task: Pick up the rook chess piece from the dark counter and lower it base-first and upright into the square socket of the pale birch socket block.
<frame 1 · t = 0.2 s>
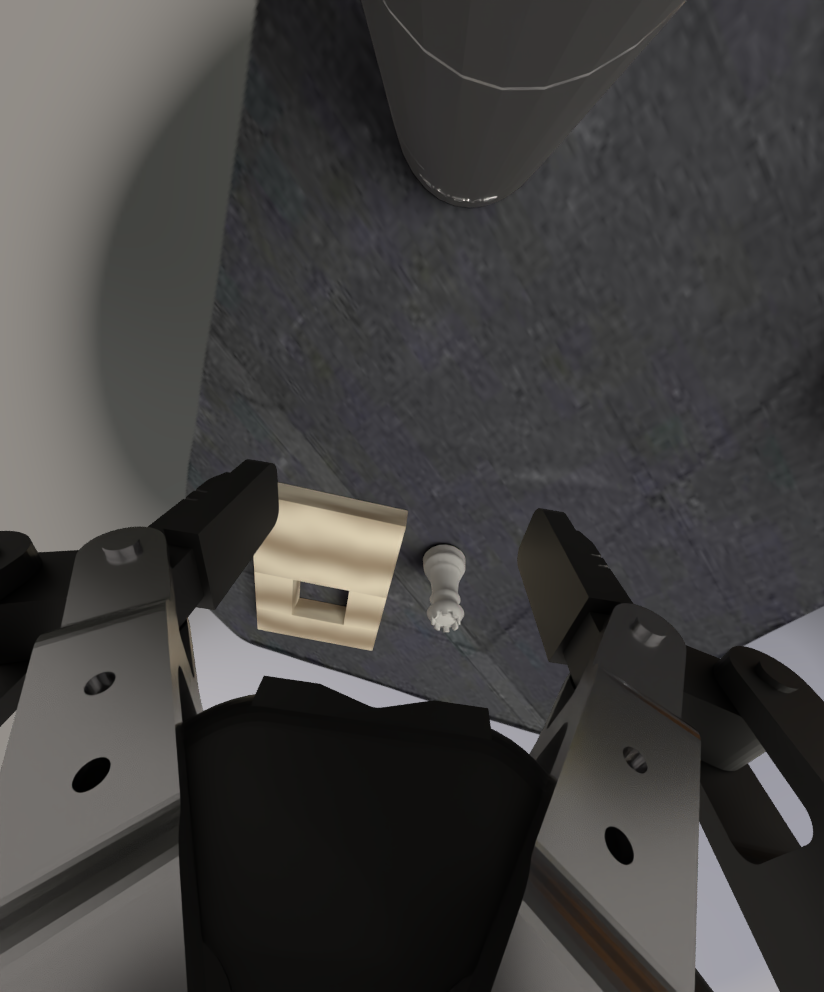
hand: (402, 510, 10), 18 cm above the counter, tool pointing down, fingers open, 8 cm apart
rook chess piece: (443, 556, 35), on the counter
socket block: (327, 568, 37), on the counter
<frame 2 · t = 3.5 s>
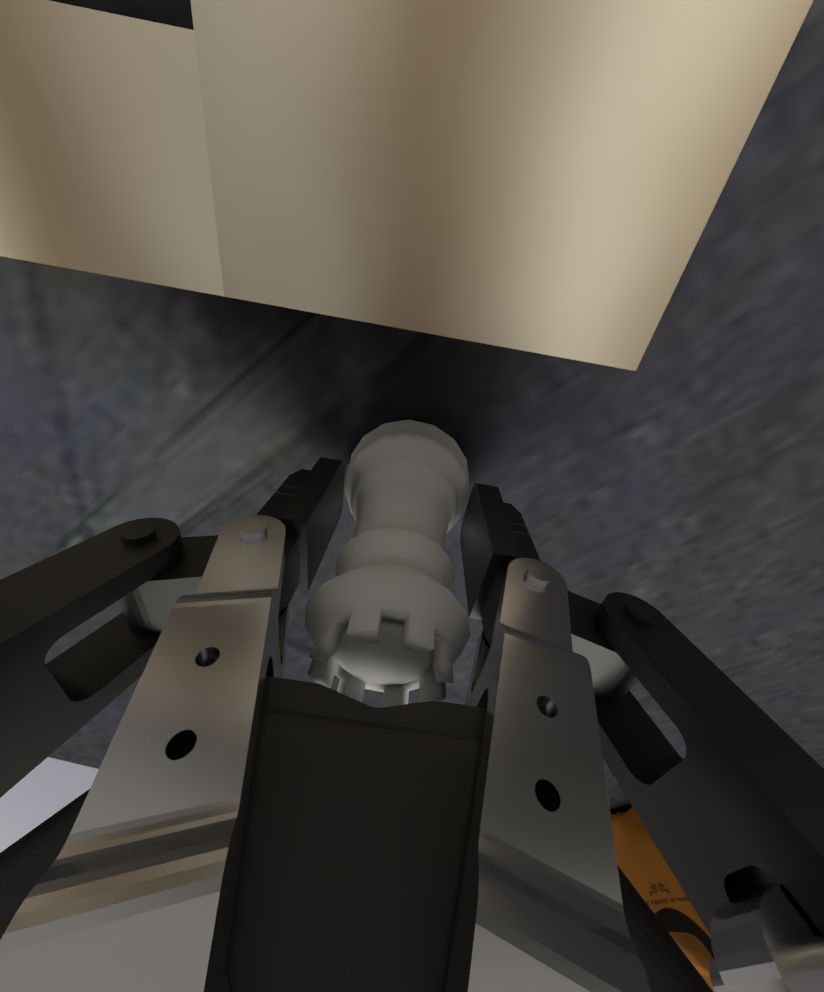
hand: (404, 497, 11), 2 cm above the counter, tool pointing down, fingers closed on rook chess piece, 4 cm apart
rook chess piece: (409, 470, 13), on the counter, touching gripper
coffee package: (674, 818, 28), on the counter
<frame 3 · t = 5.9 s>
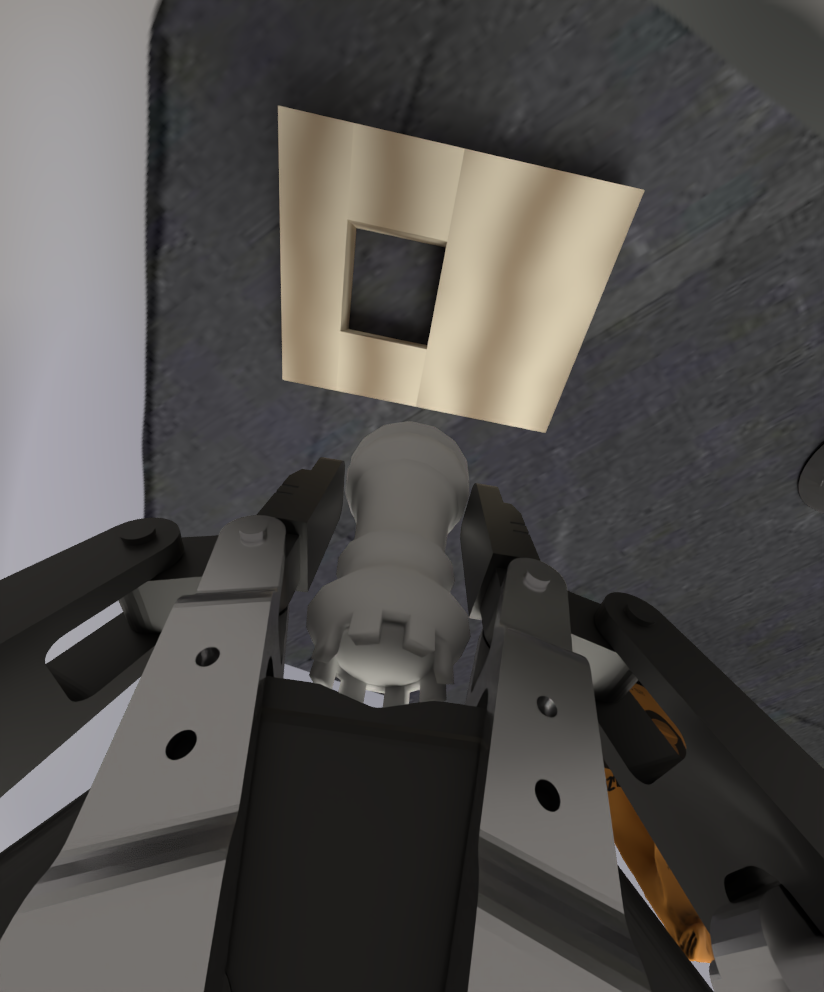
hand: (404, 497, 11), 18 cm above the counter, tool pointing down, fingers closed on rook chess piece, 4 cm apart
rook chess piece: (409, 471, 13), point 16 cm above the counter, touching gripper
coffee package: (602, 686, 45), on the counter
socket block: (436, 299, 23), on the counter
when the fingers open (3 cm above the counter, at t = 8.7 s): rook chess piece drops 1 cm, resting in socket block.
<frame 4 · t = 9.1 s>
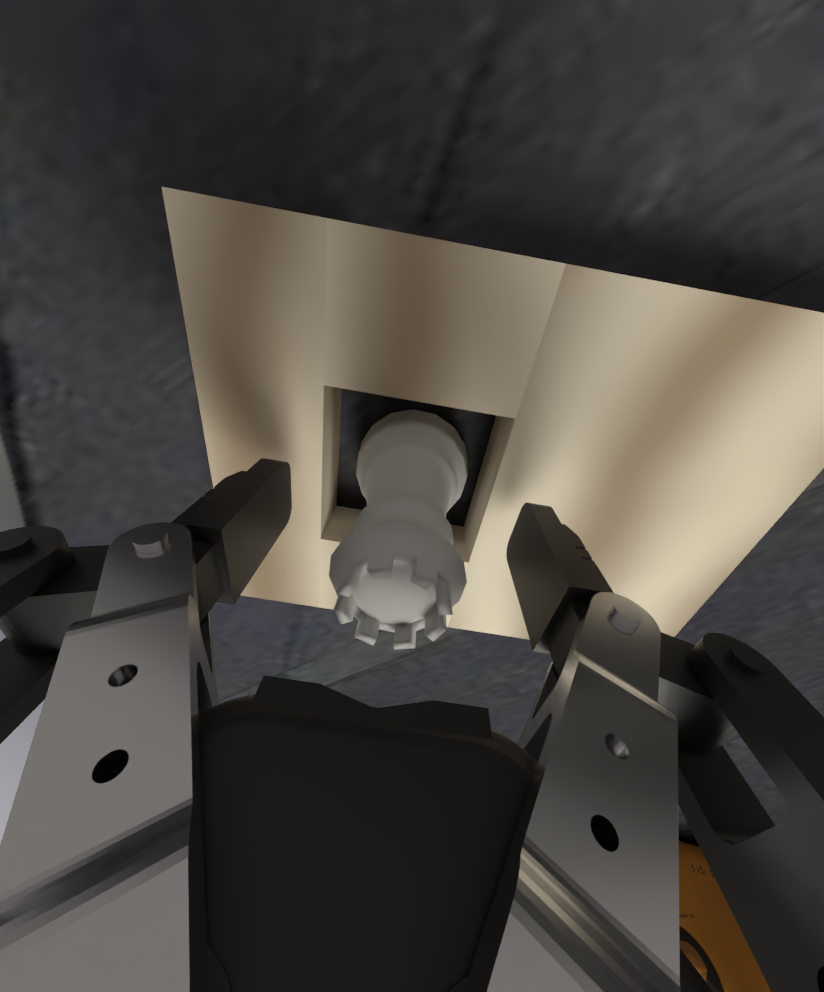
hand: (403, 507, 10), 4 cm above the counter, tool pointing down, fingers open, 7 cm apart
rook chess piece: (413, 457, 14), resting in socket block
coffee package: (674, 849, 35), on the counter
socket block: (480, 469, 14), on the counter
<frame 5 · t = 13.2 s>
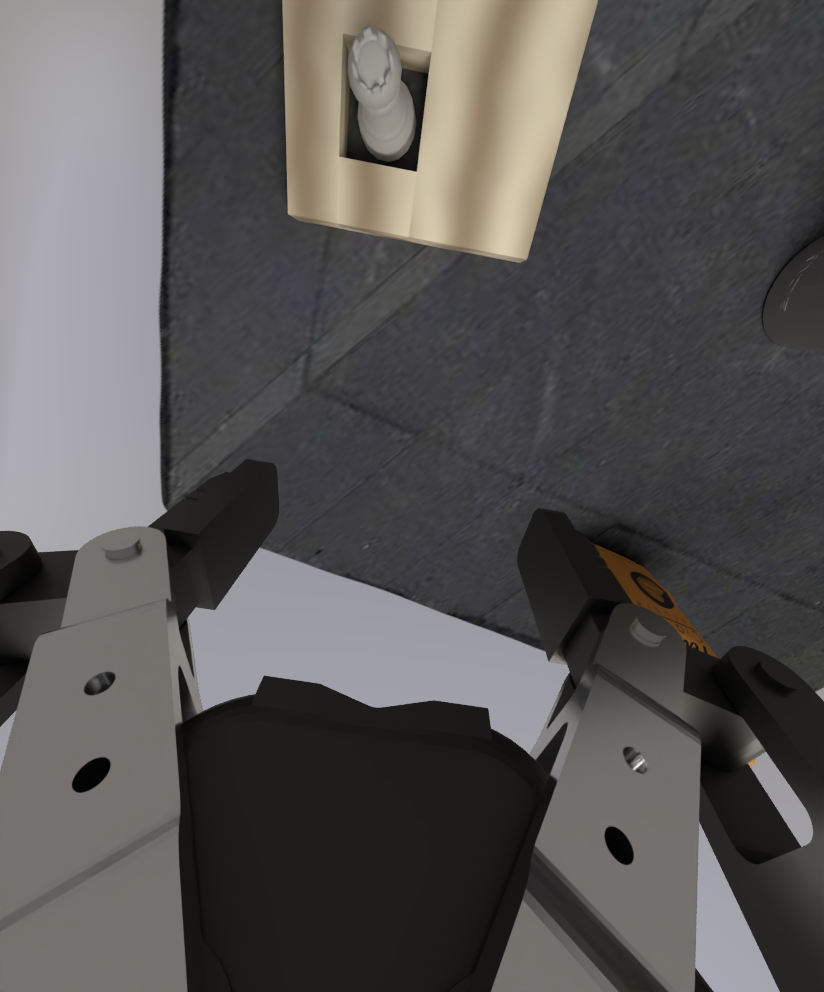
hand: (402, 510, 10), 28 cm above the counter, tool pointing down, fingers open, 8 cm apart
rook chess piece: (388, 126, 26), resting in socket block
coffee package: (595, 568, 47), on the counter
socket block: (424, 131, 26), on the counter
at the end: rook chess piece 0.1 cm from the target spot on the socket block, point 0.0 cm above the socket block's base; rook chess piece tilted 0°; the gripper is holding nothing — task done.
